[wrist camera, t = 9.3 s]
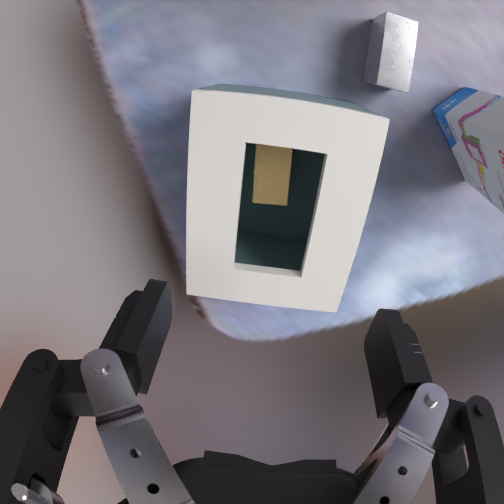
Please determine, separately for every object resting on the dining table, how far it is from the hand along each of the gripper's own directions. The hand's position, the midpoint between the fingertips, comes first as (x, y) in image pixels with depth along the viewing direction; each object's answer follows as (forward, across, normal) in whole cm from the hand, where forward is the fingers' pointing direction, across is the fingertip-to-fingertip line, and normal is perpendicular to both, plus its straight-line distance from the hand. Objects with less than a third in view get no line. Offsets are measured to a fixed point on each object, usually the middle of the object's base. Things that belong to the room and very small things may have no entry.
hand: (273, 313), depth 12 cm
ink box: (+19, -18, -7) cm, 27 cm away
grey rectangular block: (+19, -8, -12) cm, 23 cm away
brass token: (+18, 0, -1) cm, 18 cm away
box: (+18, 0, 0) cm, 19 cm away
